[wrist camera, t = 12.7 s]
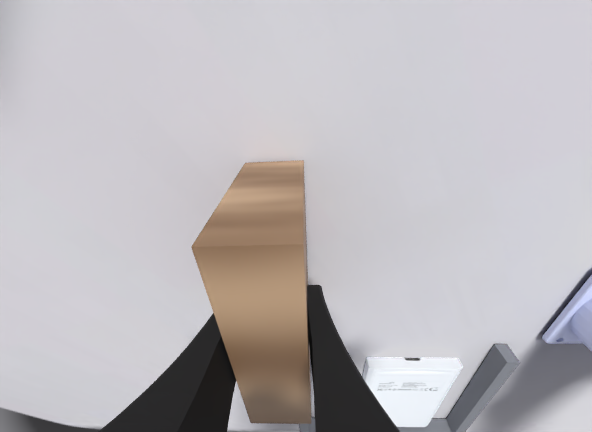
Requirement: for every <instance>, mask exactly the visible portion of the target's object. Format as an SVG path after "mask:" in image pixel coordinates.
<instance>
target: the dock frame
mask: <svg viewBox="0 0 592 432" xmlns="http://www.w3.org/2000/svg"><path fill="white" fill-rule="evenodd" d="M519 364H520V361H519V360H518V359H517V357H516V356H515V355H514V353H513V352H512V350H511V349H510V348H509V346H508V345H507V344H494V346H493V347H492V349H491V350H490V352H489V353H488V355H487V356H486V358H485V360H484V361H483V363H482V364H481V366H480V367H479V369H478V370H477V372H476V374H475V375H474V377H473V378H472V380H471V381H470V383H469V384H468V386H467V387H466V389H465V391H464V392H463V394H462V395H461V397H460V398H459V400H458V401H457V403H456V405H455V406H454V408H453V409H452V411H451V412H450V414H449V415H448V417H447V418H446V419H431V421H430V423H429V424H428V426H426V427H397V428H398V429H399V431H400V432H466V430H467V429H468V428H469V427H470V425H471V424H472V423H473V422H474V420H475V419H476V418H477V416H478V415H479V414H480V413H481V411H482V410H483V409H484V408H485V406H486V405H487V404H488V403H489V401H490V400H491V399H492V398H493V396H494V395H495V394H496V393H497V391H498V390H499V389H500V388H501V386H502V385H503V384H504V383H505V381H506V380H507V379H508V378H509V376H510V375H511V374H512V373H513V371H514V370H515V369H516V367H517V366H518V365H519ZM299 428H300V432H315V417H311V424H299Z"/></svg>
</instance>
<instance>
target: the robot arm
mask: <svg viewBox="0 0 592 432" xmlns="http://www.w3.org/2000/svg"><path fill="white" fill-rule="evenodd" d="M307 310H308V335H309V348H310V357H311V367H312V376H313V386H314V405H315V432H400V431H399V429H398V428H397V427H396V425H395V424H394V423H393V421H392V420H391V418H390V417H389V416H388V414H387V413H386V412H385V410H384V409H383V407H382V406H381V405H380V403H379V402H378V400H377V399H376V397H375V396H374V394H373V393H372V391H371V390H370V388H369V387H368V385H367V384H366V382H365V381H364V379H363V377H362V376H361V374H360V372H359V371H358V369H357V368H356V366H355V364H354V362H353V361H352V359H351V357H350V355H349V353H348V352H347V350H346V348H345V346H344V344H343V342H342V340H341V338H340V336H339V334H338V332H337V330H336V328H335V325H334V323H333V321H332V318H331V316H330V313H329V311H328V308H327V305H326V303H325V299H324V296H323V292H322V287H321V286H320V285H307ZM542 339H543V340H544V341H545V342H546V343H549V344H581V343H583V344H584V345H585V346H586V347H588V348H589V349H590V350H591V351H592V275H591V276H590V277H589V278H588V280H587V281H586V282H585V283H584V285H583V286H582V287H581V288H580V290H579V291H578V292H577V293H576V295H575V296H574V297H573V298H572V300H571V301H570V302H569V303H568V305H567V306H566V307H565V308H564V310H563V311H562V312H561V313H560V315H559V316H558V317H557V318H556V320H555V321H554V322H553V324H552V325H551V326H550V327H549V329H548V330H547V331H546V332H545V334H544V335H543V336H542ZM235 383H236V378H235V375H234V372H233V369H232V366H231V363H230V360H229V357H228V354H227V351H226V348H225V345H224V342H223V339H222V336H221V333H220V330H219V327H218V324H217V321H216V318H215V315H214V313H213V314H212V316H211V317H210V318H209V320H208V321H207V322H206V324H205V325H204V326H203V328H202V329H201V330H200V332H199V333H198V334H197V335H196V337H195V338H194V339H193V340H192V342H191V343H190V344H189V345H188V346H187V348H186V349H185V350H184V351H183V352H182V353H181V354H180V356H179V357H178V358H177V359H176V360H175V361H174V362H173V363H172V364H171V365H170V367H169V368H168V369H167V370H166V371H165V372H164V373H163V374H162V375H161V376H160V377H159V378H158V379H157V380H156V381H155V382H154V383H153V384H152V385H151V386H150V387H149V388H148V389H147V390H146V391H145V392H143V393H142V394H141V395H140V396H139V397H138V398H137V399H136V400H135V401H133V402H132V403H131V404H130V405H129V406H128V407H127V408H126V409H125V410H124V411H122V412H121V413H120V414H119V415H118V416H117V417H116V418H114V419H113V420H112V421H111V422H110V423H108V424H107V425H106V426H105V427H104V428H102V429H101V430H100V431H99V432H227V427H228V421H229V415H230V409H231V403H232V397H233V392H234V387H235Z"/></svg>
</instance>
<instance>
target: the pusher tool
mask: <svg viewBox="0 0 592 432" xmlns="http://www.w3.org/2000/svg"><path fill="white" fill-rule="evenodd" d="M192 250H193V253H194V256H195V259H196V262H197V265H198V268H199V271H200V274H201V277H202V280H203V283H204V286H205V289H206V292H207V295H208V298H209V301H210V303H211V306H212V309H213V312H214V315H215V318H216V321H217V324H218V327H219V330H220V333H221V336H222V339H223V342H224V345H225V348H226V351H227V354H228V357H229V360H230V363H231V366H232V369H233V372H234V375H235V378H236V380H237V383H238V386H239V389H240V392H241V395H242V398H243V401H244V404H245V407H246V410H247V413H248V416H249V419H250V422H251V423H288V424H311V386H310V348H309V335H308V310H307V285H308V272H307V244H306V216H305V188H304V160H303V161H279V162H255V163H245V164H244V166H243V167H242V169H241V170H240V172H239V173H238V175H237V177H236V178H235V180H234V181H233V183H232V184H231V186H230V188H229V189H228V191H227V192H226V194H225V195H224V197H223V198H222V200H221V202H220V203H219V205H218V206H217V208H216V209H215V211H214V212H213V214H212V216H211V217H210V219H209V220H208V222H207V223H206V225H205V227H204V228H203V230H202V231H201V233H200V234H199V236H198V237H197V239H196V241H195V242H194V244H193V245H192Z"/></svg>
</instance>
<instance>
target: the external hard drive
mask: <svg viewBox="0 0 592 432" xmlns="http://www.w3.org/2000/svg"><path fill="white" fill-rule="evenodd" d="M462 368H463V366H462V364H461V362H460V360H459V358H404V357H367V358H366V362H365V367H364V372H363V376H362V377H363V379H364V381H365V382H366V384H367V385H368V387H369V388H370V390H371V391H372V393H373V394H374V396H375V397H376V399H377V400H378V402H379V403H380V405H381V406H382V407H383V409H384V410H385V412H386V413H387V414H388V416H389V417H390V418H391V420H392V421H393V423H394V424H395V425H396V427H426V426H428V424H429V423H430V421H431V419H432V418H433V416H434V414H435V413H436V411H437V409H438V408H439V406H440V404H441V403H442V401H443V399H444V398H445V396H446V394H447V393H448V391H449V389H450V388H451V386H452V384H453V383H454V381H455V379H456V378H457V376H458V374H459V373H460V371H461V370H462Z"/></svg>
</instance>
